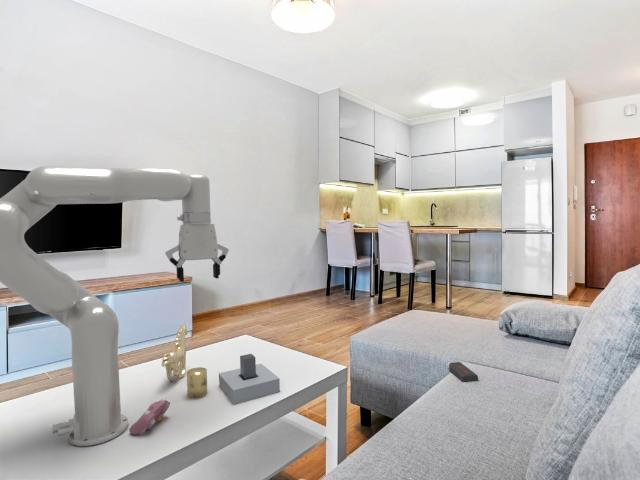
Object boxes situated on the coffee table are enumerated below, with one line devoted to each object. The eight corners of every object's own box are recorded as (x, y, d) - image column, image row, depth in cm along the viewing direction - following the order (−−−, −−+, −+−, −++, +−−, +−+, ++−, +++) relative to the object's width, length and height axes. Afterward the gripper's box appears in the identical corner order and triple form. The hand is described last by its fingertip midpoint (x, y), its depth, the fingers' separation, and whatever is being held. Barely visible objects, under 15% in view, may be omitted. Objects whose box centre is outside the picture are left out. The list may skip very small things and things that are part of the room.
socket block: (233, 404, 103) (233, 390, 103) (219, 385, 115) (218, 373, 115) (279, 391, 111) (279, 378, 110) (261, 375, 123) (261, 363, 122)
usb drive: (462, 383, 114) (462, 375, 114) (444, 368, 126) (444, 360, 126) (478, 382, 115) (478, 373, 115) (459, 367, 127) (459, 359, 127)
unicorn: (170, 392, 111) (168, 336, 111) (157, 393, 111) (155, 336, 111) (193, 366, 131) (191, 318, 130) (182, 367, 131) (180, 318, 131)
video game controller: (142, 443, 89) (153, 418, 88) (126, 433, 89) (137, 408, 88) (166, 421, 98) (176, 398, 98) (151, 412, 99) (161, 390, 98)
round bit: (189, 400, 106) (188, 376, 106) (185, 393, 111) (184, 370, 111) (209, 395, 109) (208, 372, 109) (204, 388, 114) (204, 366, 114)
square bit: (244, 392, 110) (243, 359, 110) (241, 388, 114) (240, 355, 113) (256, 389, 112) (255, 357, 112) (252, 385, 115) (251, 353, 115)
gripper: (166, 219, 98) (169, 284, 99) (231, 218, 107) (233, 278, 108) (161, 220, 104) (164, 281, 105) (223, 219, 113) (225, 275, 114)
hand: (199, 279), depth 106 cm, fingers open, 9 cm apart
